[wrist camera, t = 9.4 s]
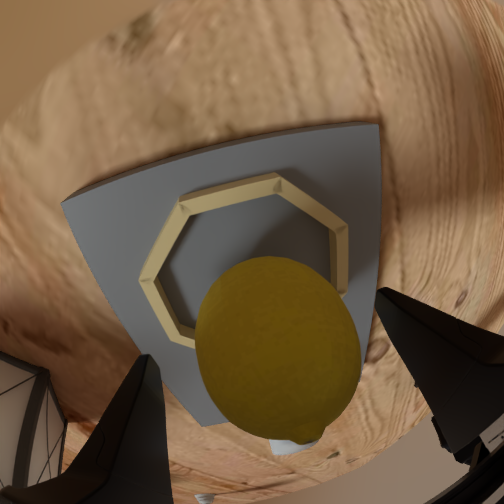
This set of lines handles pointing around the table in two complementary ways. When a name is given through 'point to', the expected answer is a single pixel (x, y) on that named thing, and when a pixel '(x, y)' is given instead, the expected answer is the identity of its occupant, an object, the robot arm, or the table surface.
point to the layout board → (231, 235)
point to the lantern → (28, 425)
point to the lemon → (277, 349)
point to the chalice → (205, 498)
